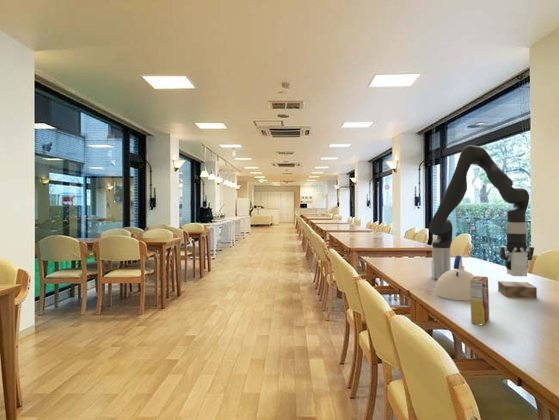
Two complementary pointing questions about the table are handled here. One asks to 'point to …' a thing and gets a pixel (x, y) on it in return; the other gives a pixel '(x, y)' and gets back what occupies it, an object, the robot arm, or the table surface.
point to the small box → (518, 264)
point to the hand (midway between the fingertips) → (516, 269)
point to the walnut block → (517, 289)
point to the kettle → (455, 283)
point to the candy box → (479, 300)
